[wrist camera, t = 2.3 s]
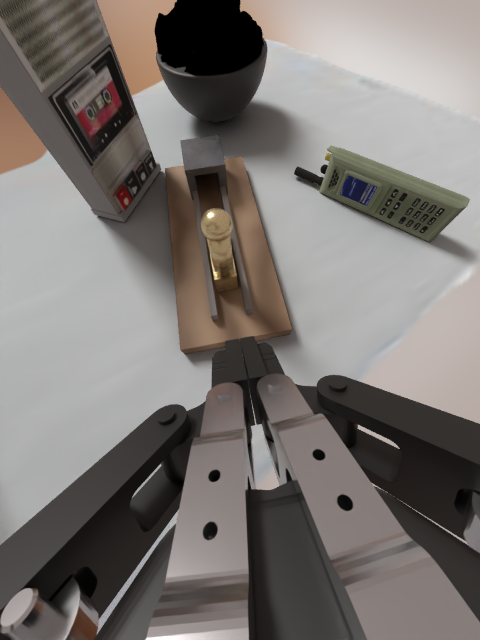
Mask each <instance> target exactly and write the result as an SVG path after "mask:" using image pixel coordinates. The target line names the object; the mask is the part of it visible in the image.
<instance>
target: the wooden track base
mask: <svg viewBox="0 0 480 640" xmlns="http://www.w3.org/2000/svg"><path fill="white" fill-rule="evenodd" d="M224 161H225V165H226V176H227V187H228V195H227V193H226V189H225V186H222V187H220V188H219V184H218V179H217V174H216V173H210V174H204V175H197V176H196V181H197V187H198V190H197V191H193V198H194V200H192V197H191V194H190V190H189V186H188V182H187V178H186V174H185V170H184V166H178V167H171V168H165V175H166V186H167V198H168V210H169V221H170V233H171V245H172V256H173V268H174V280H175V292H176V303H177V315H178V327H179V338H180V350H181V351H182V352H183V353H184V354H188V353H193V352H198V351H204V350H209V349H215V348H220V347H225V341H227V340H232V339H238V338H239V342H240V338H243V337H249V336H254V338H255V340H256V341H257V340H263V339H268V338H273V337H279V336H284V335H289V334H290V333H291V331H292V327H291V323H290V320H289V316H288V313H287V310H286V306H285V303H284V299H283V296H282V292H281V289H280V285H279V282H278V279H277V275H276V272H275V268H274V265H273V261H272V258H271V255H270V251H269V248H268V244H267V241H266V237H265V234H264V231H263V227H262V224H261V220H260V217H259V213H258V210H257V206H256V203H255V200H254V196H253V193H252V189H251V186H250V182H249V179H248V176H247V172H246V169H245V165H244V162H243V158H242V157H236V158H229V159H224ZM220 191H221V193H220ZM198 193H199V195H198ZM212 208H220V209H223V210H225V211H226V212H227V213H228V214H229V215H230V217H231V220H232V224H233V228H232V232H231V234H230V236H231V246H232V255H233V260H234V265H235V270H236V274H237V283H238V289H233V290H228V291H222V292H217V289H216V285H215V281H214V275H213V269H212V262H211V256H210V250H209V246H208V242H207V238H206V237H205V236H204V234H203V232H202V230H201V219H202V217H203V215H204V214H205V212H207V211H208V210H209V209H212ZM240 344H241V342H240Z"/></svg>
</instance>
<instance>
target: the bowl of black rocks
mask: <svg viewBox="0 0 480 640" xmlns="http://www.w3.org/2000/svg"><path fill="white" fill-rule="evenodd" d="M155 36H156V42H157V49H158V50H157V52H156V60H157V64H158V66H159V69H160V72H161V74H162V77H163V79H164V81H165V83H166V85H167V87H168V89H169V90H170V92H171V93H172V95H173V96H174V98H175V99H176V100H177V101H178V103H179V104H180V105H181V106H182V107H183V108H184V109H186V110H187V111H188V112H189V113H191V114H192V115H194V116H196V117H198V118H200V119H203V120H206V121H212V122H218V121H224V120H228V119H230V118H232V117H234V116H236V115H237V114H238V113H240V112H241V111H242V110H243V109H244V108H245V107H246V106H247V105H248V104H249V102H250V101H251V100H252V98H253V96H254V95H255V93H256V91H257V89H258V87H259V84H260V82H261V79H262V76H263V72H264V68H265V63H266V57H267V44H266V42H265V40H264V39H263V37H262V30H261V27H260V26H258V25H257V23H256V21H254V20H253V19H252V17H251V16H250V15H249V14H248V13H247V12H245V11H242V12H240V0H177V2H175V6H174V8H173V9H172V10H171V12H170V13H169V14H167V15H165V16H164V15H163V14H161V13H159V14H158V18H157V21H156V25H155Z"/></svg>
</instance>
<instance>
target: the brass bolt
mask: <svg viewBox="0 0 480 640" xmlns="http://www.w3.org/2000/svg"><path fill="white" fill-rule="evenodd" d="M232 228H233V224H232V220H231V217H230V215H229V214H228V213H227V212H226V211H225V210H223V209H220V208H212V209H209V210H208V211H207V212H205V214H204V215H203V217H202V219H201V230H202V232H203V234H204V236H205V237H206V238H207V242H208V246H209V250H210V256H211V262H212V269H213V275H214V281H215V285H216V289H217V292H222V291H228V290H233V289H238V283H237V274H236V270H235V265H234V260H233V255H232V246H231V236H230V234H231V232H232Z"/></svg>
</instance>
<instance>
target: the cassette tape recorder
mask: <svg viewBox="0 0 480 640" xmlns="http://www.w3.org/2000/svg"><path fill="white" fill-rule="evenodd" d="M0 86H1V88H2V89H3V90H4V92H5V93H6V94H7V96H8V97H9V98H10V100H11V101H12V102H13V104H14V105H15V106H16V108H17V109H18V110H19V112H20V113H21V114H22V115H23V117H24V118H25V120H26V121H27V122H28V124H29V125H30V126H31V128H32V129H33V130H34V132H35V133H36V134H37V136H38V137H39V138H40V139H41V141H42V142H43V144H44V145H45V146H46V148H47V149H48V151H49V152H50V153H51V155H52V156H53V157H54V159H55V160H56V161H57V163H58V164H59V165H60V167H61V168H62V169H63V171H64V172H65V173H66V175H67V176H68V177H69V179H70V180H71V181H72V183H73V184H74V185H75V187H76V188H77V189H78V191H79V192H80V193H81V195H82V196H83V197H84V199H85V200H86V201H87V203H88V204H89V205H90V207H91V208H92V209H91V210H92V211H93V213H94V214H95V215H98V216H102V217H105V218H109V219H113V220H117V221H121V222H125V221H126V220H127V218H128V217H129V215H130V214H131V212H132V211H133V210H134V208H135V207H136V205H137V204H138V202H139V201H140V199H141V198H142V196H143V195H144V194H145V192H146V191H147V189H148V188H149V186H150V185H151V183H152V182H153V181H154V179H155V178H156V176H157V175H158V173H159V172H160V170H161V168H160V165H159V163H155V160H154V157H153V154H152V152H151V149H150V146H149V143H148V141H147V138H146V135H145V132H144V130H143V127H142V124H141V121H140V119H139V116H138V113H137V110H136V108H135V105H134V102H133V99H132V97H131V94H130V91H129V88H128V86H127V83H126V80H125V77H124V75H123V72H122V69H121V66H120V64H119V61H118V58H117V55H116V53H115V50H114V47H113V45H112V42H111V39H110V36H109V33H108V31H107V28H106V25H105V23H104V20H103V17H102V15H101V12H100V9H99V6H98V3H97V1H96V0H0Z"/></svg>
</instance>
